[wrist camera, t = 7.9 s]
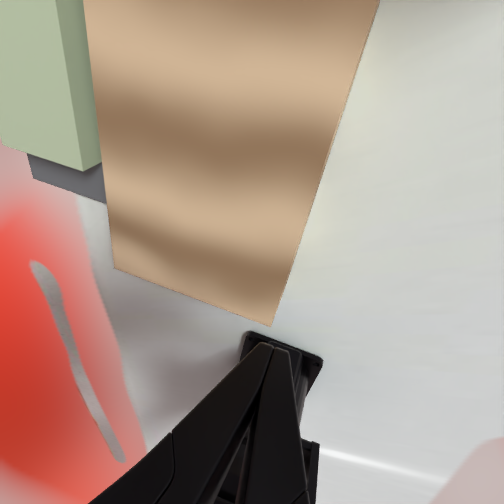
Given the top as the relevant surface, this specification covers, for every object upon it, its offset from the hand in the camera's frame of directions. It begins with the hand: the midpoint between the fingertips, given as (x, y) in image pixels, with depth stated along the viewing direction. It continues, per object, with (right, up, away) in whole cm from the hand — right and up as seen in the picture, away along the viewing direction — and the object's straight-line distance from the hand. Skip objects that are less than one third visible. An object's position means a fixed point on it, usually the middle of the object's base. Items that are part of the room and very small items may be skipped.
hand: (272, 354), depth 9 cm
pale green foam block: (-13, +12, +9) cm, 20 cm away
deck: (-2, +10, +9) cm, 13 cm away
